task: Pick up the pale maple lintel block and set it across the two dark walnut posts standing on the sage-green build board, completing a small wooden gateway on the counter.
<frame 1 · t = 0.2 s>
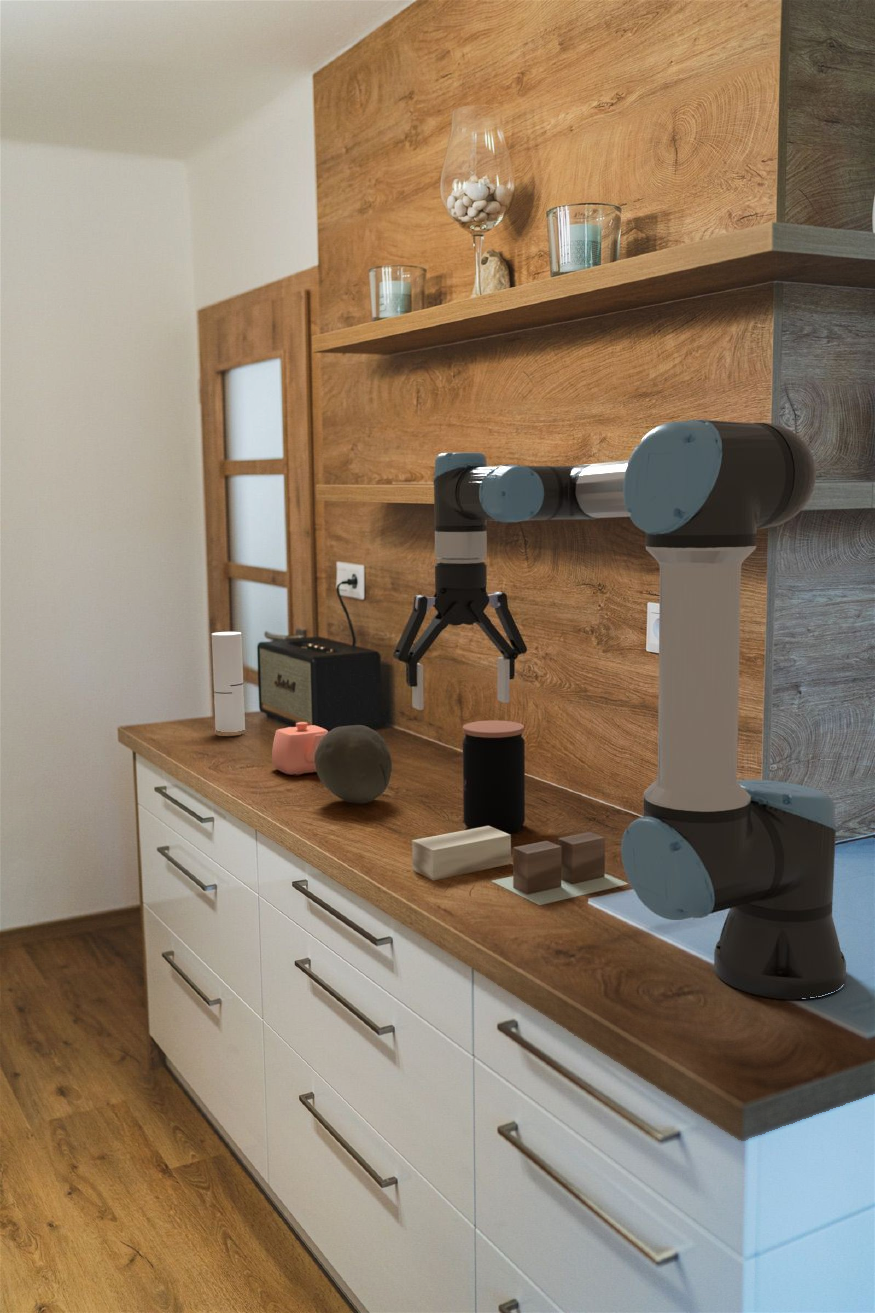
hand: (461, 705, 169), 27 cm above the countertop, fingers open, 13 cm apart
coffee jar: (494, 828, 200), on the countertop
board: (559, 890, 168), on the countertop
cylindrical container: (230, 735, 283), on the countertop
dark grey ball: (354, 804, 217), on the countertop
post b: (537, 887, 166), point 1 cm above the countertop, touching board
lintel: (462, 875, 176), on the countertop
post a: (581, 877, 170), point 1 cm above the countertop, touching board
teapot: (304, 772, 243), on the countertop
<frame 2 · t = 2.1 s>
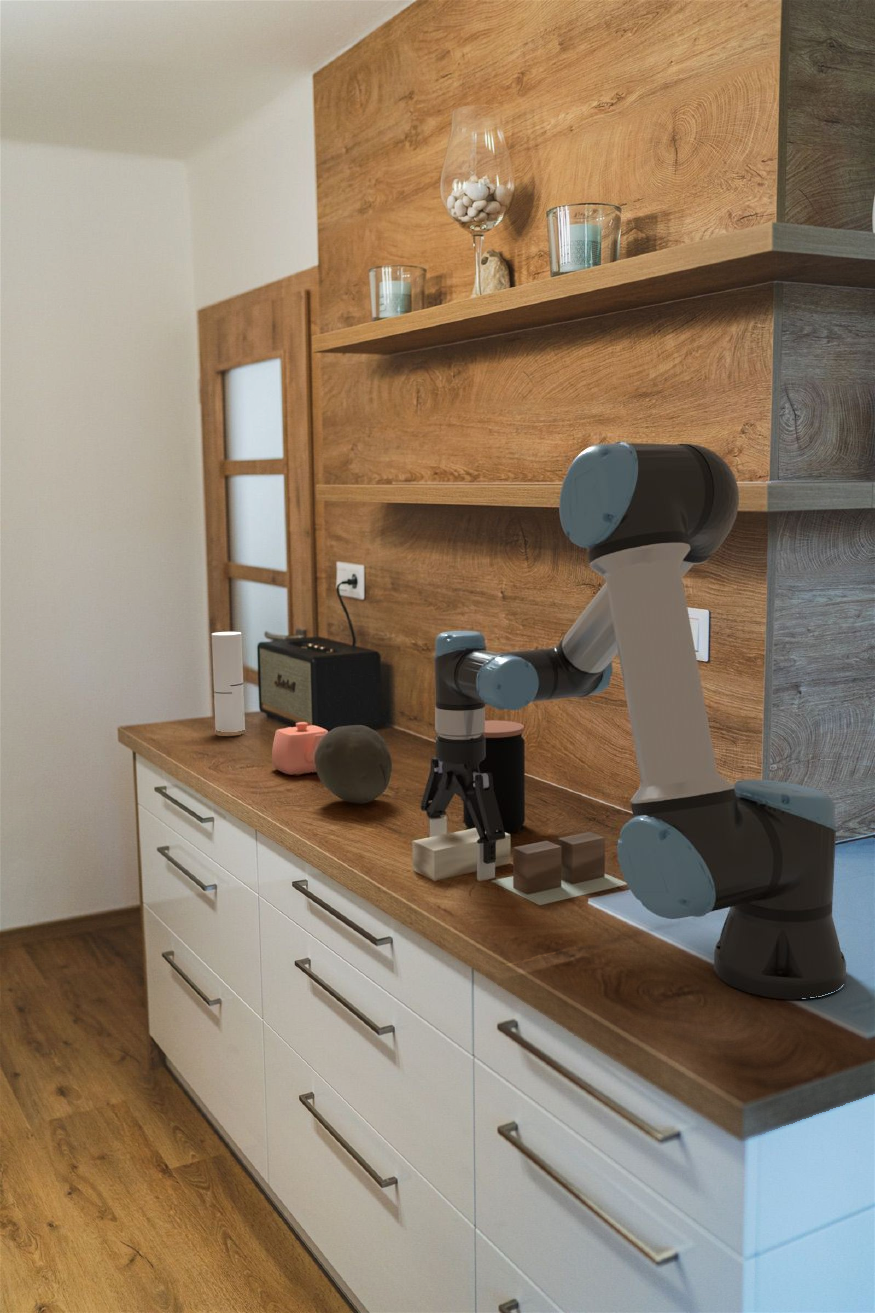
hand: (461, 870, 176), 1 cm above the countertop, fingers open, 13 cm apart
nothing on the countertop moved.
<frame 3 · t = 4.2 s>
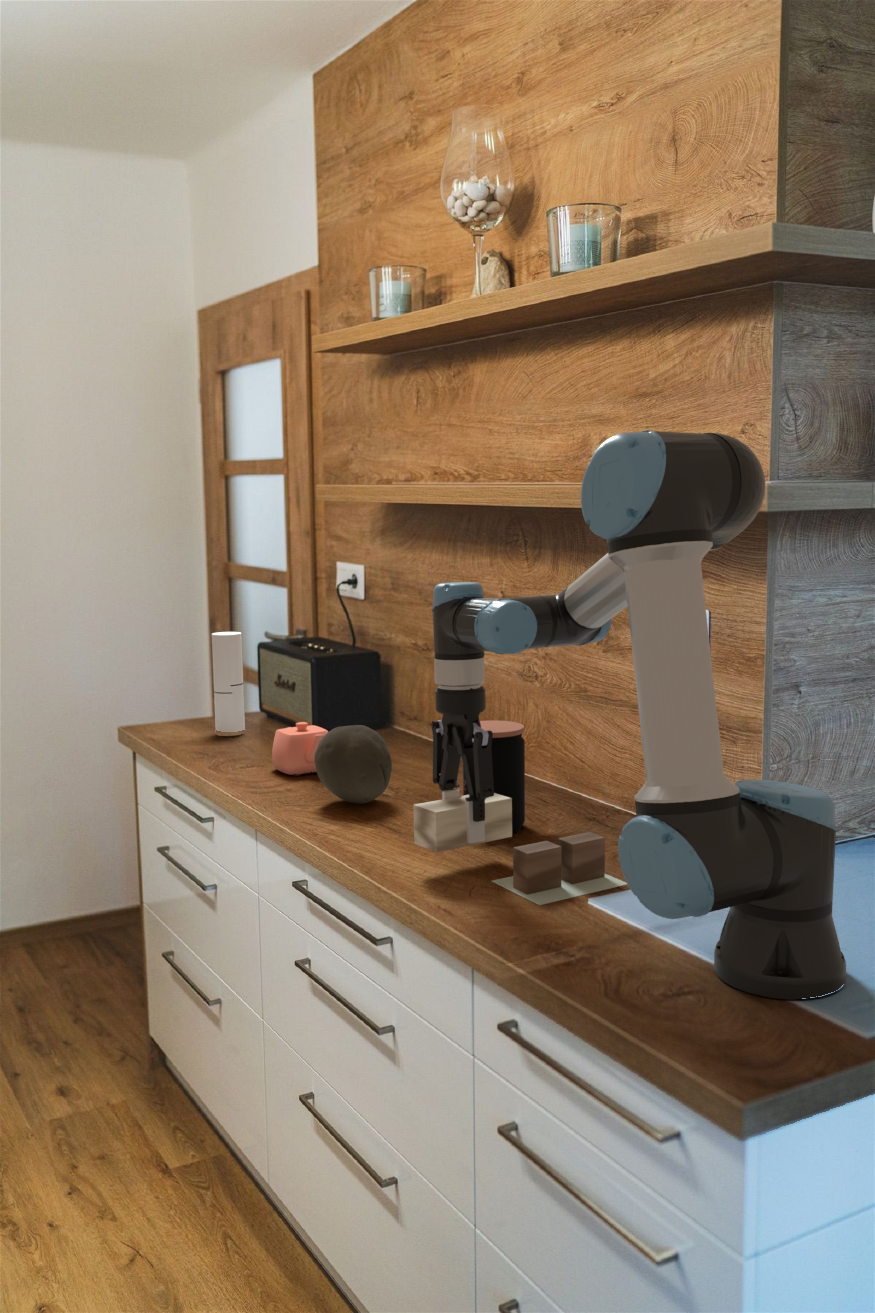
hand: (463, 836, 174), 6 cm above the countertop, fingers closed on lintel, 6 cm apart
lintel: (463, 840, 174), point 6 cm above the countertop, touching gripper
everything else where it was.
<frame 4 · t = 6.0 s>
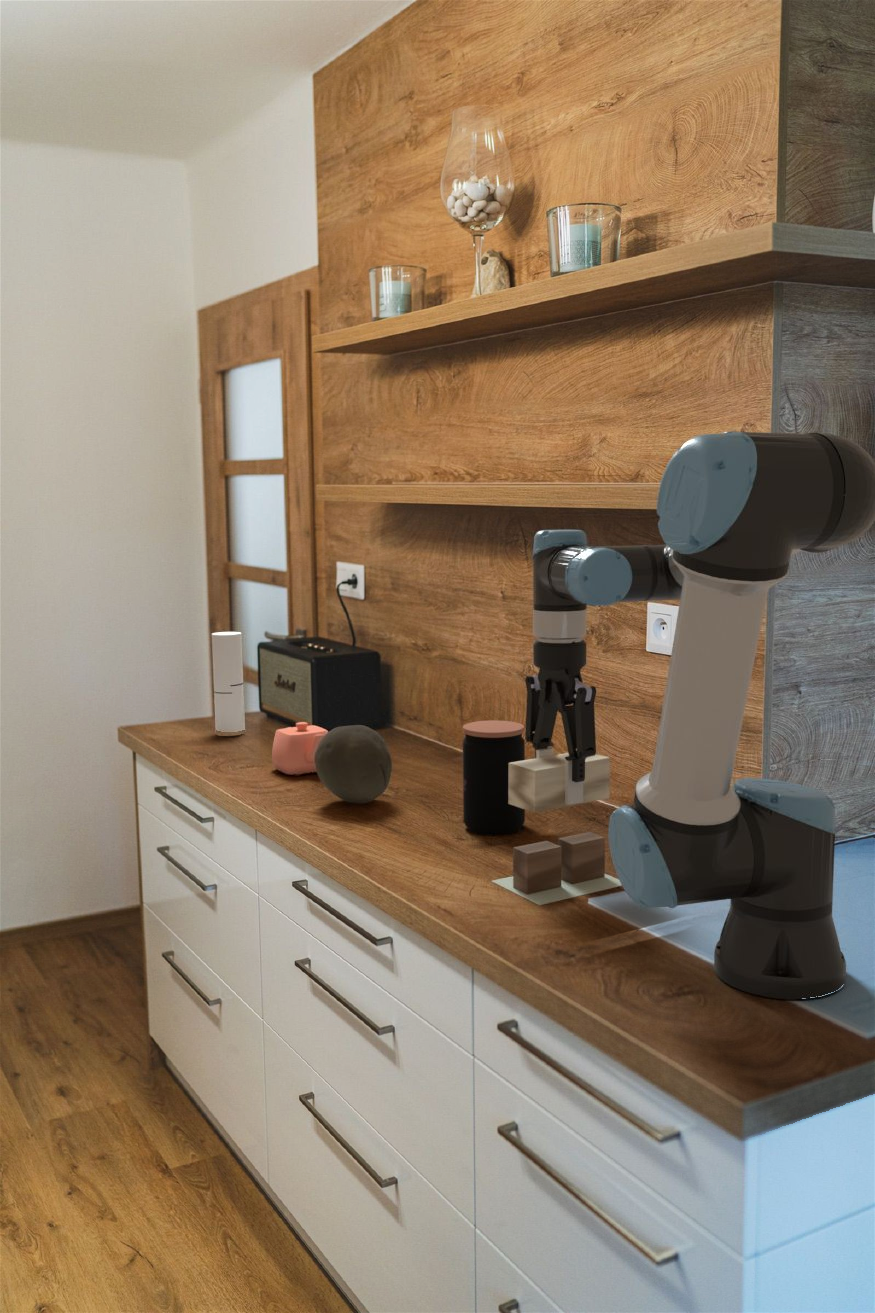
hand: (559, 797, 166), 14 cm above the countertop, fingers closed on lintel, 6 cm apart
lintel: (559, 800, 166), point 13 cm above the countertop, touching gripper
everything else where it was.
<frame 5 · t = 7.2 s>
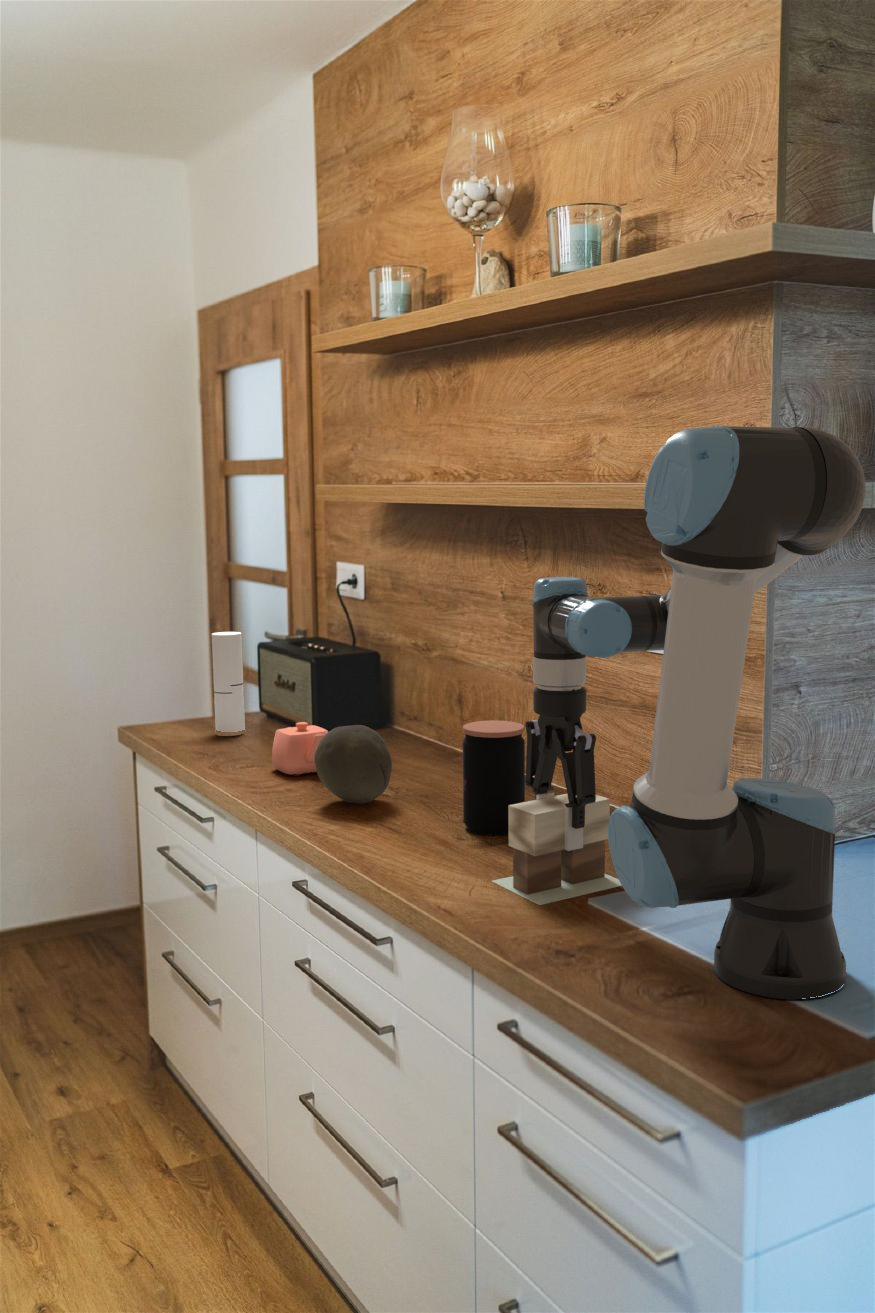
hand: (559, 842, 167), 7 cm above the countertop, fingers closed on lintel, 6 cm apart
post b: (537, 887, 166), point 1 cm above the countertop, touching board, lintel
lintel: (559, 842, 167), point 7 cm above the countertop, touching gripper, post a, post b
post a: (581, 877, 170), point 1 cm above the countertop, touching board, lintel
everything else where it was.
when the fingers open (7 cm above the countertop, at t = 7.9 s): lintel stays where it is, resting on post a, post b.
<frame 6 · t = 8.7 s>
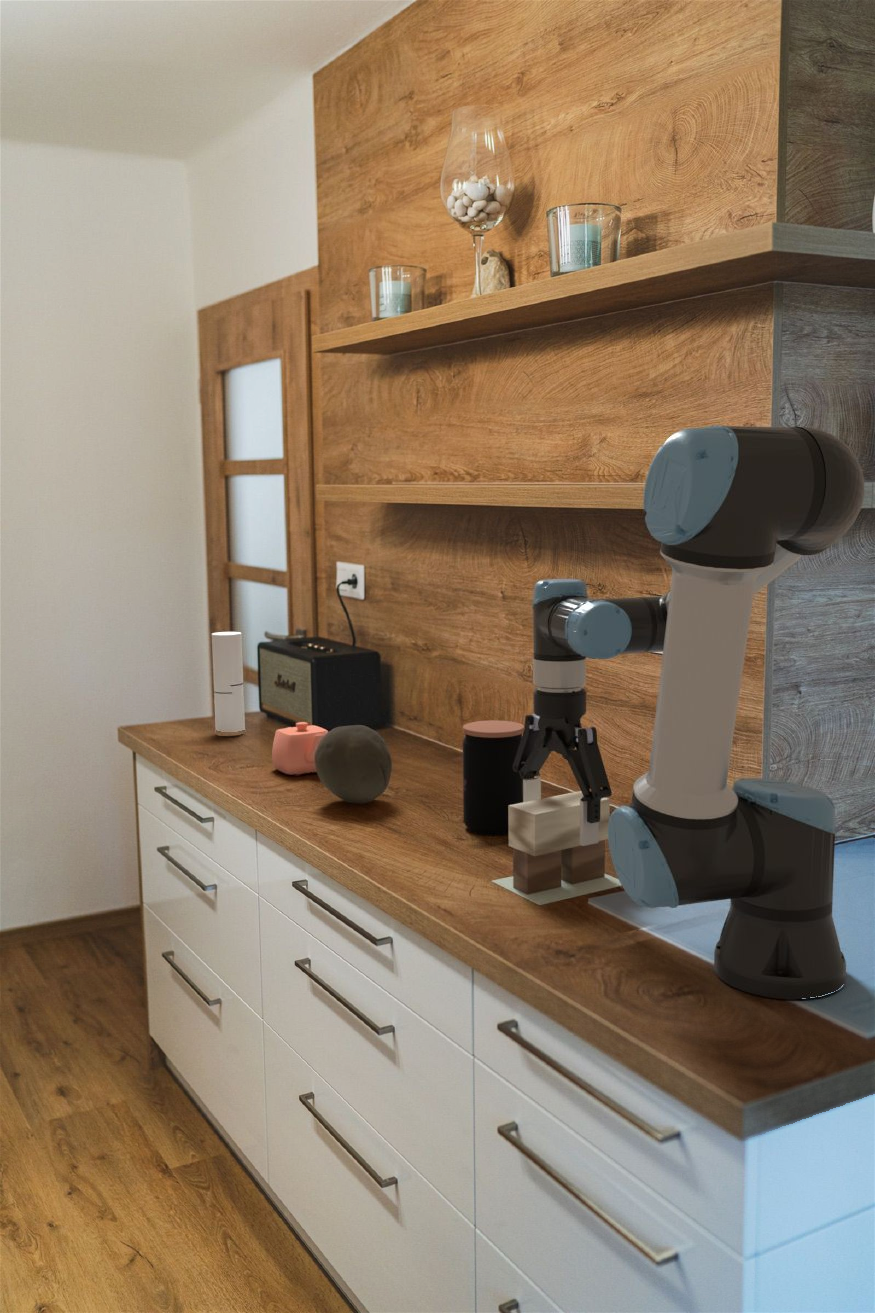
hand: (559, 832, 167), 9 cm above the countertop, fingers open, 13 cm apart
lintel: (559, 842, 167), point 7 cm above the countertop, touching post a, post b
everything else where it was.
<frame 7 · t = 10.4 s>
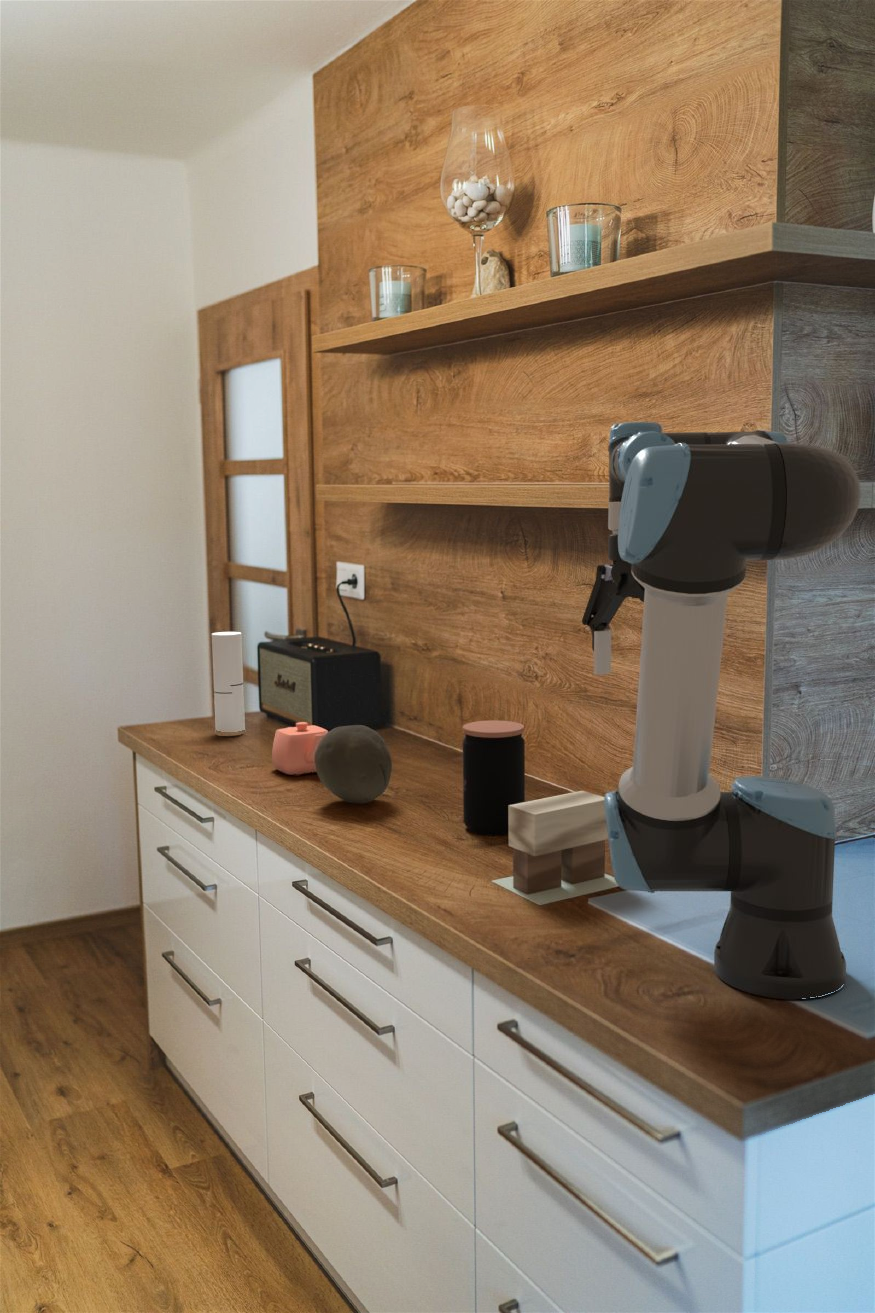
hand: (633, 679, 167), 30 cm above the countertop, fingers open, 13 cm apart
nothing on the countertop moved.
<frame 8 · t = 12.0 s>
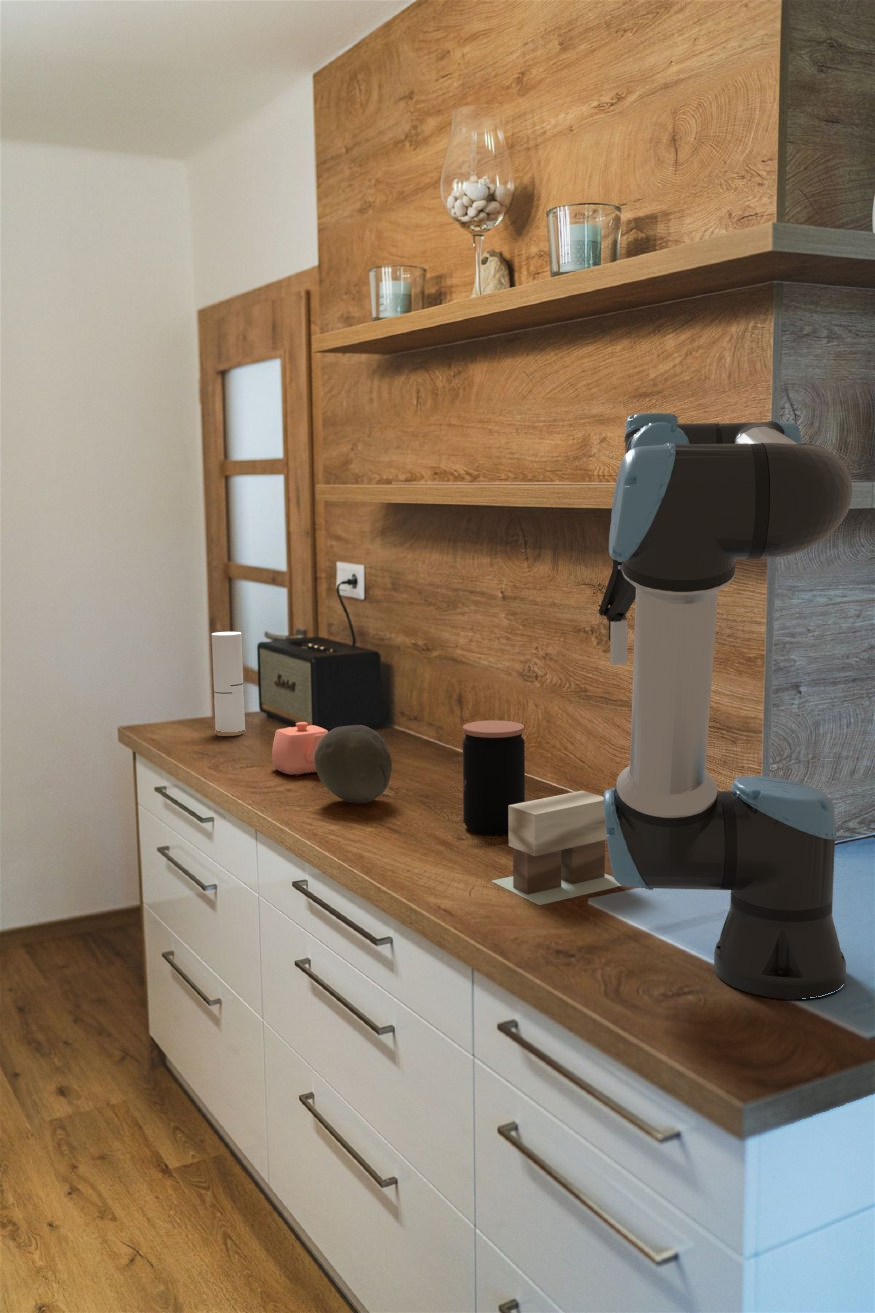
hand: (649, 669, 168), 32 cm above the countertop, fingers open, 13 cm apart
nothing on the countertop moved.
at the end: lintel 0.1 cm off-centre on the board, point 7.2 cm above the board's base; lintel tilted 0°; the gripper is holding nothing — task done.
